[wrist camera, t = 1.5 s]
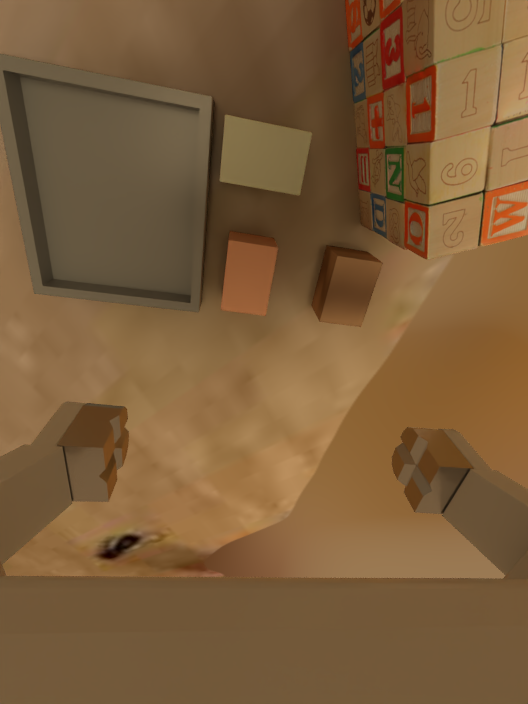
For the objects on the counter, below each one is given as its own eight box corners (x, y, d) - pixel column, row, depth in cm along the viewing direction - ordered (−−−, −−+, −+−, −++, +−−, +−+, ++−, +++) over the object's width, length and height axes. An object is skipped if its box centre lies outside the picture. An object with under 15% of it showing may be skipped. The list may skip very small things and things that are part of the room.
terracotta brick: (229, 230, 29) (228, 240, 26) (273, 237, 30) (278, 247, 26) (222, 294, 32) (220, 310, 29) (262, 299, 33) (265, 315, 29)
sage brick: (226, 120, 25) (225, 114, 22) (302, 136, 26) (312, 132, 23) (221, 178, 27) (219, 181, 24) (292, 191, 28) (299, 195, 25)
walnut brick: (326, 245, 31) (337, 256, 27) (366, 251, 31) (382, 263, 28) (311, 304, 34) (319, 321, 30) (348, 309, 34) (360, 326, 31)
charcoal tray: (9, 61, 23) (-15, 50, 20) (214, 102, 25) (212, 96, 22) (48, 284, 30) (34, 293, 28) (201, 302, 32) (198, 312, 30)
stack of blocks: (330, -150, 19) (445, -534, 9) (438, -185, 19) (697, -632, 8) (360, 226, 30) (427, 263, 19) (429, 209, 30) (536, 236, 19)
